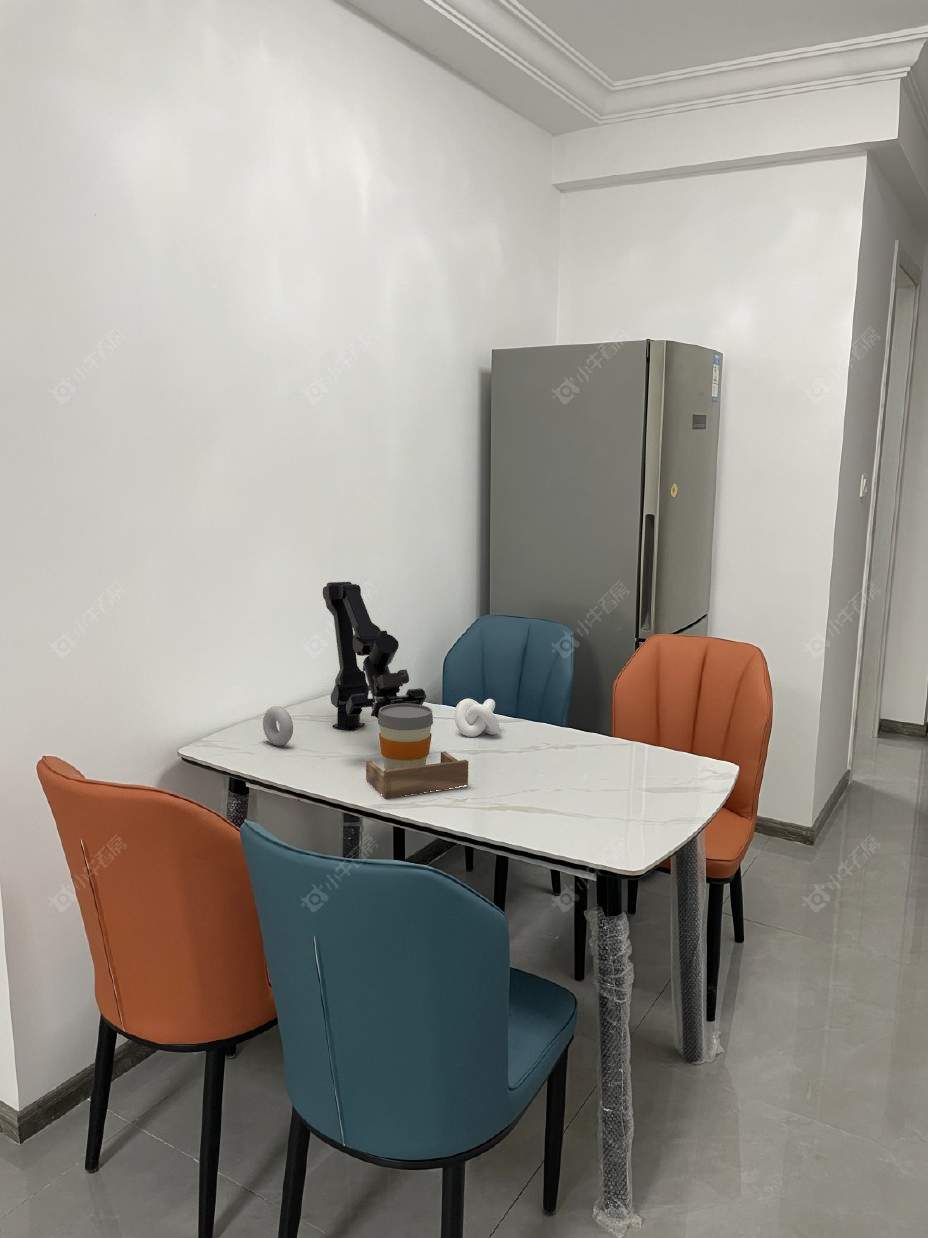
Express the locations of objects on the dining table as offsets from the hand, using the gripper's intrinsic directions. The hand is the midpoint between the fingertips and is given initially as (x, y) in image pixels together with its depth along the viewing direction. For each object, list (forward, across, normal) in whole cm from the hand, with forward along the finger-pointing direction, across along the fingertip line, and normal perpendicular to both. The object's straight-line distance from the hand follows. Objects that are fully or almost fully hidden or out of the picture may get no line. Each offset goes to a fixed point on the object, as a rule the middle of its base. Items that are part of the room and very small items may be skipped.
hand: (395, 732), depth 220 cm
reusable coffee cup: (+10, 0, +1) cm, 10 cm away
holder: (+15, 0, -4) cm, 16 cm away
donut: (-12, -22, +23) cm, 34 cm away
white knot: (-6, +29, +17) cm, 34 cm away
